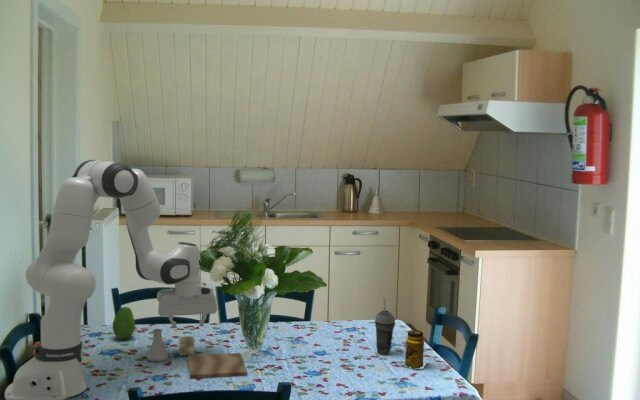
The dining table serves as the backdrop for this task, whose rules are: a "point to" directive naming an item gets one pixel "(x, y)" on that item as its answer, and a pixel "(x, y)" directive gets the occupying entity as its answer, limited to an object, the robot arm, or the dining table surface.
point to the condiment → (414, 349)
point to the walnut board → (216, 365)
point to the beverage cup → (384, 331)
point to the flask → (157, 348)
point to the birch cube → (186, 345)
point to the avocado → (124, 323)
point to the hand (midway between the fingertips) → (187, 326)
